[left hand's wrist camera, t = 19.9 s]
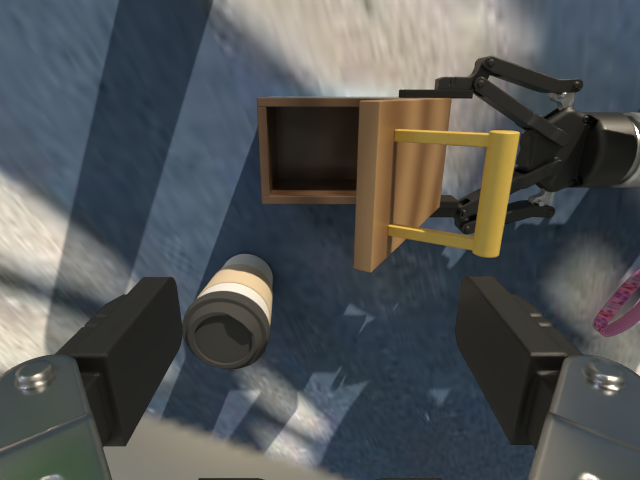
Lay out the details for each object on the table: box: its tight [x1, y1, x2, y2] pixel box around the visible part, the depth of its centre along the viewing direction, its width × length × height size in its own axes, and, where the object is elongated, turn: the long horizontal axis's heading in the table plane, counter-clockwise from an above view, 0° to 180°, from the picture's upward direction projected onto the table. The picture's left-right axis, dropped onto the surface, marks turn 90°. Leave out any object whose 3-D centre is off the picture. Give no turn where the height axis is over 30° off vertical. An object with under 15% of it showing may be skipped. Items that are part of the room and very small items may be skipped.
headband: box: [593, 269, 640, 337], centre depth 53 cm, size 11×4×2 cm, turn 153°
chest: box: [257, 97, 425, 204], centre depth 43 cm, size 17×10×9 cm, turn 90°
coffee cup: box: [182, 254, 273, 369], centre depth 46 cm, size 9×9×15 cm
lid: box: [354, 98, 520, 273], centre depth 29 cm, size 18×10×8 cm
